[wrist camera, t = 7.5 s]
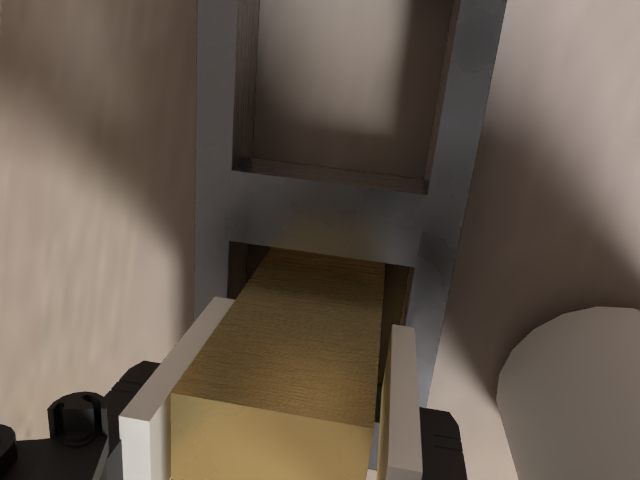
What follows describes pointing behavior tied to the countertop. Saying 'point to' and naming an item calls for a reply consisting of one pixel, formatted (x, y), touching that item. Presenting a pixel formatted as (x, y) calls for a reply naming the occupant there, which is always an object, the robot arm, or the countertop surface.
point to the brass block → (285, 376)
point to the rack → (336, 178)
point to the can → (575, 397)
